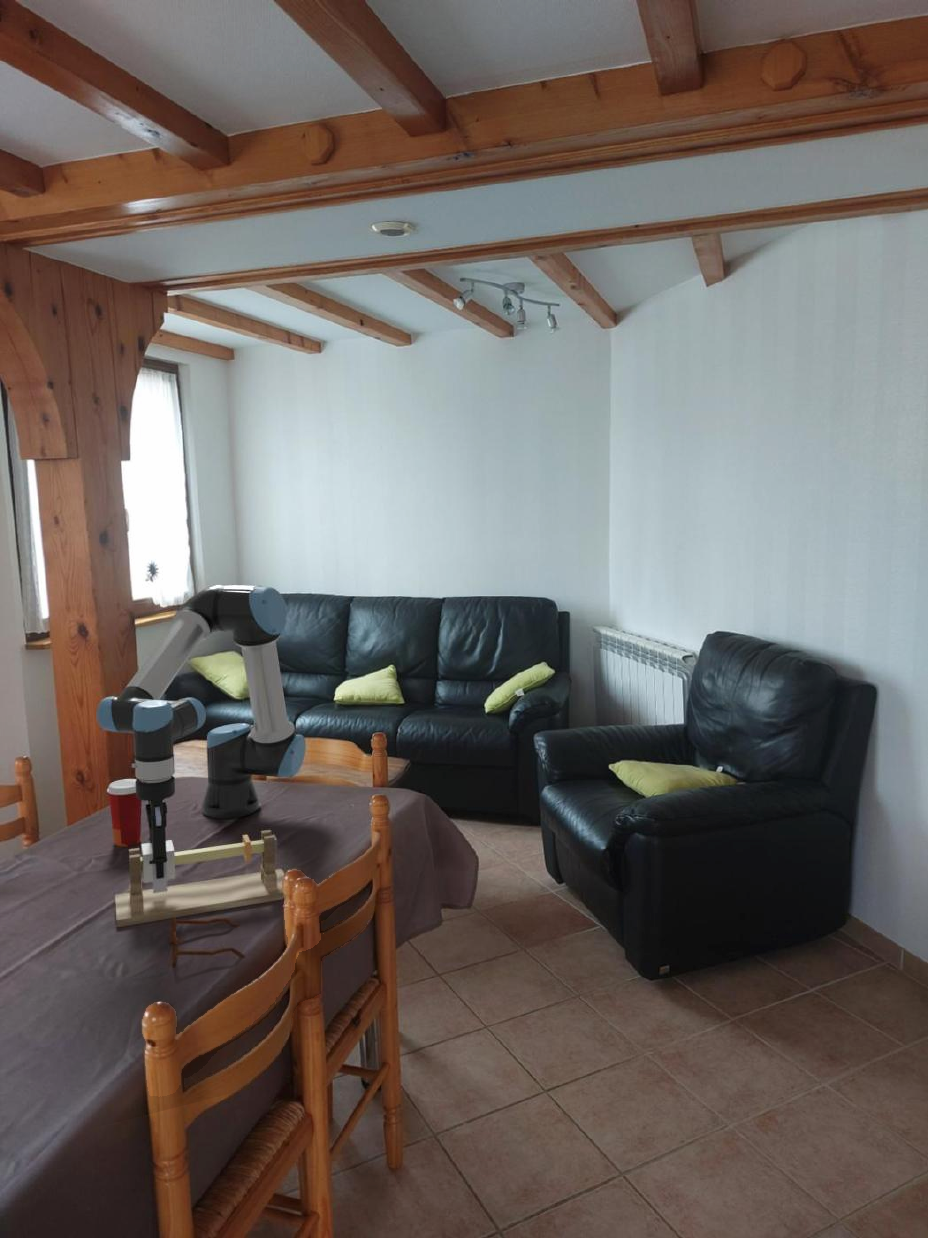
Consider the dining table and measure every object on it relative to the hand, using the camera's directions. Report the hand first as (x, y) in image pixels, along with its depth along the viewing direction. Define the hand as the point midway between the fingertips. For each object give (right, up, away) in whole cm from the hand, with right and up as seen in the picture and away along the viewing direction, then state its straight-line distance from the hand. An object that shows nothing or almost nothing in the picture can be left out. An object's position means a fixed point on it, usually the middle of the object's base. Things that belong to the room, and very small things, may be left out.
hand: (159, 884), depth 178 cm
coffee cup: (-20, 0, +34) cm, 40 cm away
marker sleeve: (0, +2, 0) cm, 2 cm away
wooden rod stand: (+8, -4, +4) cm, 10 cm away
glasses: (+14, -8, -15) cm, 22 cm away
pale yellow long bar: (+9, +3, +3) cm, 10 cm away
